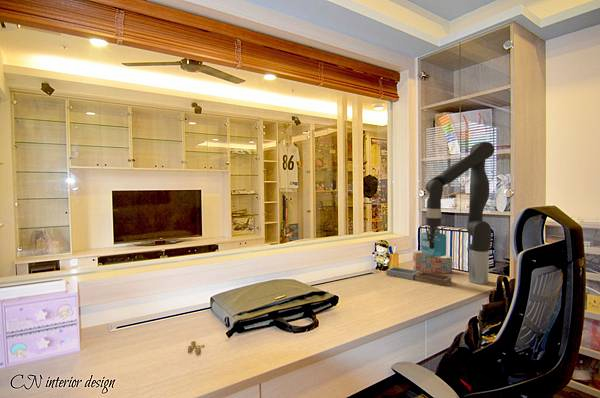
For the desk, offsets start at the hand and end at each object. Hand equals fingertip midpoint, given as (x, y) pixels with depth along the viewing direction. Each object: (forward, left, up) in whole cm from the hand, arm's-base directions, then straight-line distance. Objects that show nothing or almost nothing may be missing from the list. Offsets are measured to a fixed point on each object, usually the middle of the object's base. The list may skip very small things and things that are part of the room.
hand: (433, 247), depth 172 cm
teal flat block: (0, 0, -4) cm, 4 cm away
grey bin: (0, -17, -18) cm, 25 cm away
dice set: (+124, -32, -19) cm, 130 cm away
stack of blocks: (-21, -8, -19) cm, 29 cm away
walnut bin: (0, 0, -18) cm, 18 cm away
